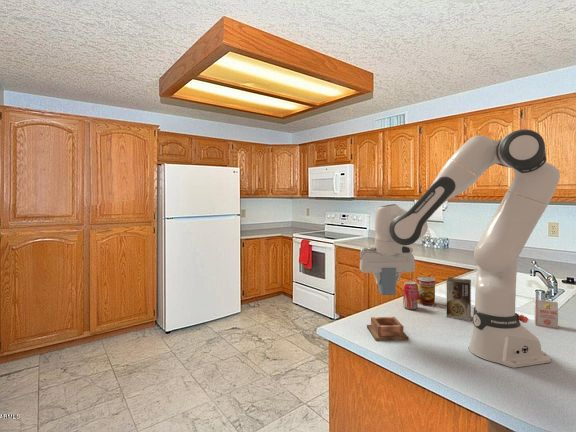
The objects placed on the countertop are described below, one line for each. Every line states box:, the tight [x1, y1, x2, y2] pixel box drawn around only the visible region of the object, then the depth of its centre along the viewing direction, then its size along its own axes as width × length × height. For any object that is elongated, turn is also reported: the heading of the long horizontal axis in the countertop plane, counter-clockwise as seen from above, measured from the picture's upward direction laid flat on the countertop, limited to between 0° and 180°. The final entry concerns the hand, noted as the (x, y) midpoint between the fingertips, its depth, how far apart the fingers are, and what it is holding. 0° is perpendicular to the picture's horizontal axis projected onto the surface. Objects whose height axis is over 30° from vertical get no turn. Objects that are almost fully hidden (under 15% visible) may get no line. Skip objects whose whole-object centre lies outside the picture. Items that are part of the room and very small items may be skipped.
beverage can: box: [402, 280, 419, 310], centre depth 150 cm, size 6×6×12 cm
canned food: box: [416, 276, 436, 307], centre depth 156 cm, size 8×8×12 cm
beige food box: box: [534, 299, 559, 330], centre depth 127 cm, size 4×7×10 cm, turn 59°
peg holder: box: [366, 316, 409, 341], centre depth 122 cm, size 12×12×4 cm
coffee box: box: [445, 276, 472, 322], centre depth 138 cm, size 9×6×16 cm
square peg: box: [377, 268, 397, 296], centre depth 122 cm, size 5×5×10 cm
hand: (386, 283), depth 122 cm, fingers closed on square peg, 5 cm apart
